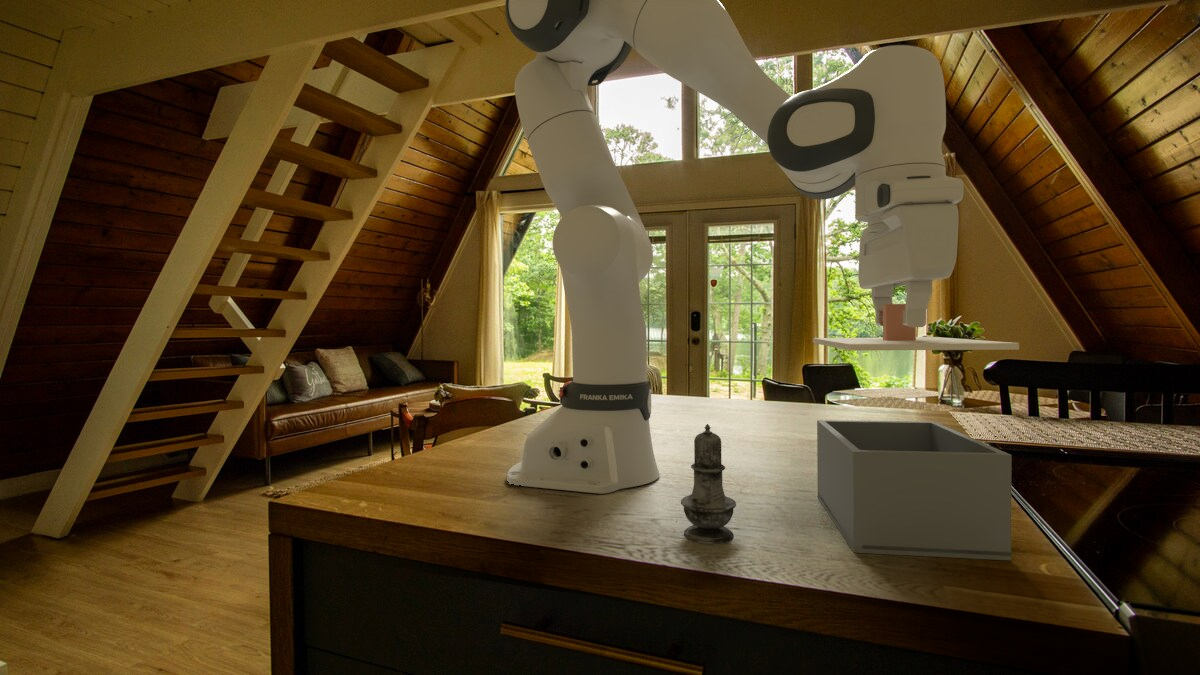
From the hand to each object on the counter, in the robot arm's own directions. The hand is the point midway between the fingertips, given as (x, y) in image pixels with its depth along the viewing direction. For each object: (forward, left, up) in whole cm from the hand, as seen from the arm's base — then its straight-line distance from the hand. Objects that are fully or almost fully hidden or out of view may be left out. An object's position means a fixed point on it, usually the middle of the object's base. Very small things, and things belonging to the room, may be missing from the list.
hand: (898, 326), depth 64 cm
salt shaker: (-21, -6, -22) cm, 31 cm away
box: (0, 0, -22) cm, 22 cm away
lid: (0, 0, -2) cm, 2 cm away
